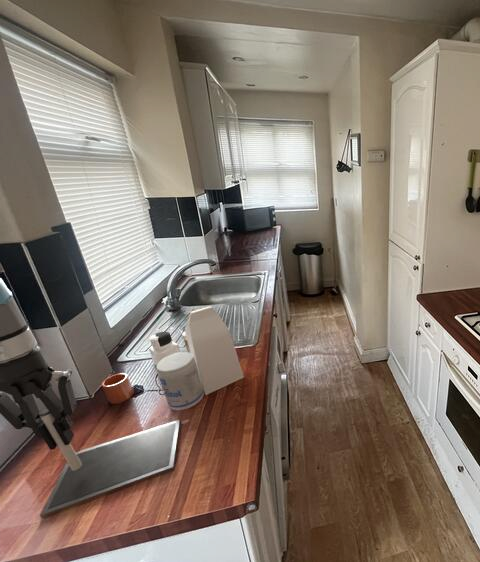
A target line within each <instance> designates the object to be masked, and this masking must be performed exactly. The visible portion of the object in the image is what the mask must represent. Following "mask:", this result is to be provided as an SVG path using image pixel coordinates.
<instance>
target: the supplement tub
mask: <svg viewBox="0 0 480 562" xmlns="http://www.w3.org/2000/svg"><path fill="white" fill-rule="evenodd" d="M156 372H157V377H158V379H159V382H160V385H161V388H162V390H163V394H164V396H165V399H166V402H167V405H168V407H169V408H170V409H171V410H172V411H184V410H187V409H190V408H192V407H194V406H196V405H197V404H199V403H200V402H201V401H202V400H203V398H204V395H205V392H204V391H203V387H202V384H201V380H200V376H199V373H198V369H197V366H196V362H195V359H194V357H193V355H192V354H191V353H189V352H187V351H180V352H179V353H175V354H172V355H169V356H167V357H165V358H164V359H162V360H161V361H160V362H159V363H158V364H157V366H156Z"/></svg>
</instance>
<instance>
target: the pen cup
mask: <svg viewBox="0 0 480 562" xmlns="http://www.w3.org/2000/svg"><path fill="white" fill-rule="evenodd" d="M101 386H102V389H103V390H104V393H105V395H106V397H107V399H108V402H109V403H110V404H120V403H123V402H125V401H128V400H129V399H130V398H132V397H133V395H134V394H135V390H134V388H133V385H132V382H131V380H130V378H129V376H128V374H127V373H125V372H120V373H115V374H112V375H111V376H108V377H107V378H105V379H104V380H103V381H102V382H101Z"/></svg>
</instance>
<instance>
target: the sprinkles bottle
mask: <svg viewBox="0 0 480 562" xmlns="http://www.w3.org/2000/svg"><path fill="white" fill-rule="evenodd" d="M181 338H182V340H183V341H184V344H185V348H186V352H189V353H190V349H189V345H188V341H187V337H186V333H185V331H183V332H182V333H181Z"/></svg>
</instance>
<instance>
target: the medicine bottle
mask: <svg viewBox="0 0 480 562" xmlns="http://www.w3.org/2000/svg"><path fill="white" fill-rule="evenodd" d="M149 341H150V344H151V346H150V347H148V351H149V354H150V356H151V359H152V361H153V364H154V365H155V366H156V367H157V364H158V363H159V362H160V361H161V360H162V359H164V358H165V357H167V356H169V355H172V354H175V353H179V352H181V349H180V346H179V344H178V343H176V342H175V341H173V338H172V335H171V333H170V332H169V331H159V332H156V333H155V334H153V335H151V336H150V338H149Z"/></svg>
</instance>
